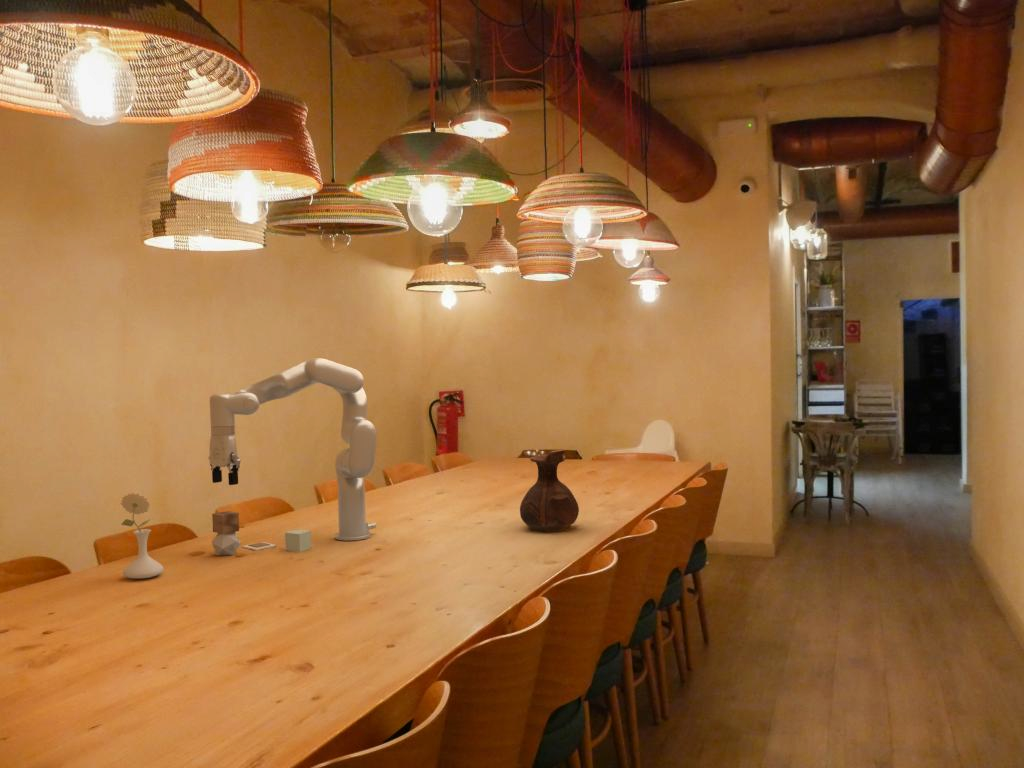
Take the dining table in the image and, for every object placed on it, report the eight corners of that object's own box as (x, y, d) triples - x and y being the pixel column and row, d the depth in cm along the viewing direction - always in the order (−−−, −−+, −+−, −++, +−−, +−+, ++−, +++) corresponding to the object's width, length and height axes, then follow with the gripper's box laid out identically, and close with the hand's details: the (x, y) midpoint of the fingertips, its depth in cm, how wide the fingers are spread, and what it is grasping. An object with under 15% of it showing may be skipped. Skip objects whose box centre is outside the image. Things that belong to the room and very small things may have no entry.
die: (224, 560, 287) (242, 534, 290) (202, 547, 289) (220, 521, 291) (231, 564, 295) (249, 538, 298) (210, 550, 296) (228, 525, 299)
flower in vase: (172, 573, 268) (169, 491, 268) (145, 583, 258) (142, 497, 257) (137, 570, 273) (134, 489, 272) (109, 580, 262) (106, 495, 261)
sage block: (297, 546, 303) (296, 529, 303) (311, 548, 301) (310, 530, 300) (285, 550, 298) (285, 532, 298) (299, 552, 295) (299, 534, 295)
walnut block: (229, 528, 297) (228, 511, 297) (239, 530, 293) (238, 512, 293) (212, 531, 293) (212, 513, 292) (222, 533, 289) (222, 515, 289)
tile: (262, 543, 309) (262, 541, 309) (276, 546, 304) (276, 544, 304) (242, 547, 303) (242, 545, 303) (255, 550, 298) (255, 548, 298)
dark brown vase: (510, 532, 320) (508, 449, 319) (531, 521, 340) (530, 443, 339) (568, 536, 312) (566, 450, 311) (586, 524, 332) (585, 444, 331)
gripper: (198, 431, 295) (201, 483, 295) (227, 433, 283) (229, 487, 284) (219, 429, 300) (221, 480, 301) (247, 431, 289) (250, 483, 290)
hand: (225, 483), depth 293 cm, fingers open, 9 cm apart
